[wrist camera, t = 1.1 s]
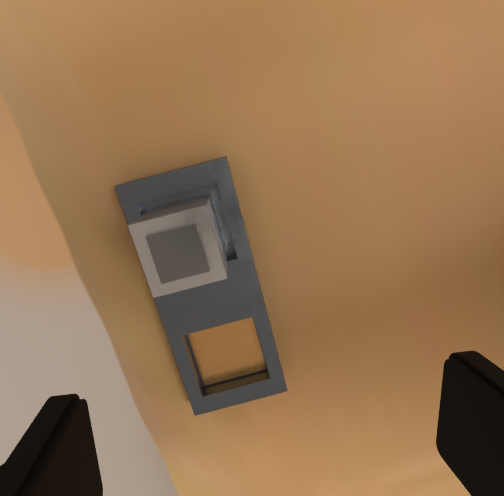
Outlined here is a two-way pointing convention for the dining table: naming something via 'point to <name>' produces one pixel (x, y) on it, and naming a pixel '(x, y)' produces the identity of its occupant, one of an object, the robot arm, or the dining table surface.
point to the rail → (213, 298)
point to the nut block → (180, 245)
